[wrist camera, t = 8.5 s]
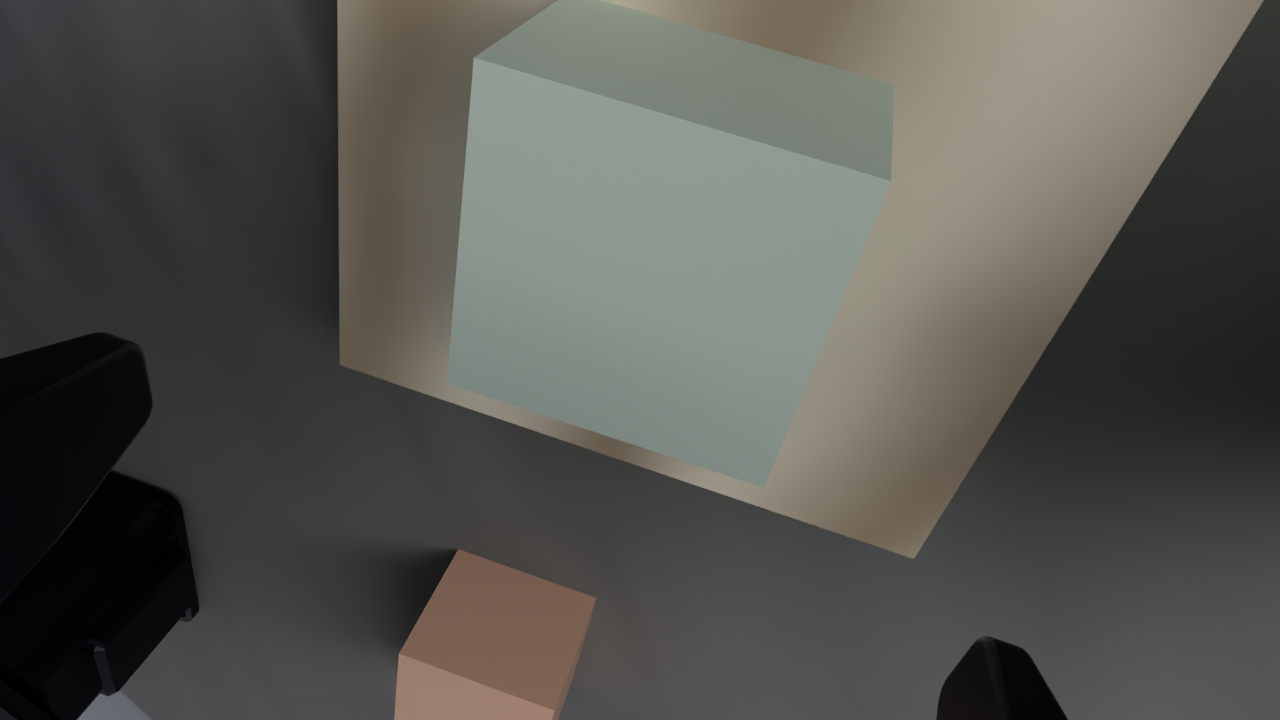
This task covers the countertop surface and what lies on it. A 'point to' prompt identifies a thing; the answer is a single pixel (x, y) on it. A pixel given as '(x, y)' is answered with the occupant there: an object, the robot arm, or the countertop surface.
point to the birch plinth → (896, 246)
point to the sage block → (660, 228)
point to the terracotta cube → (491, 646)
